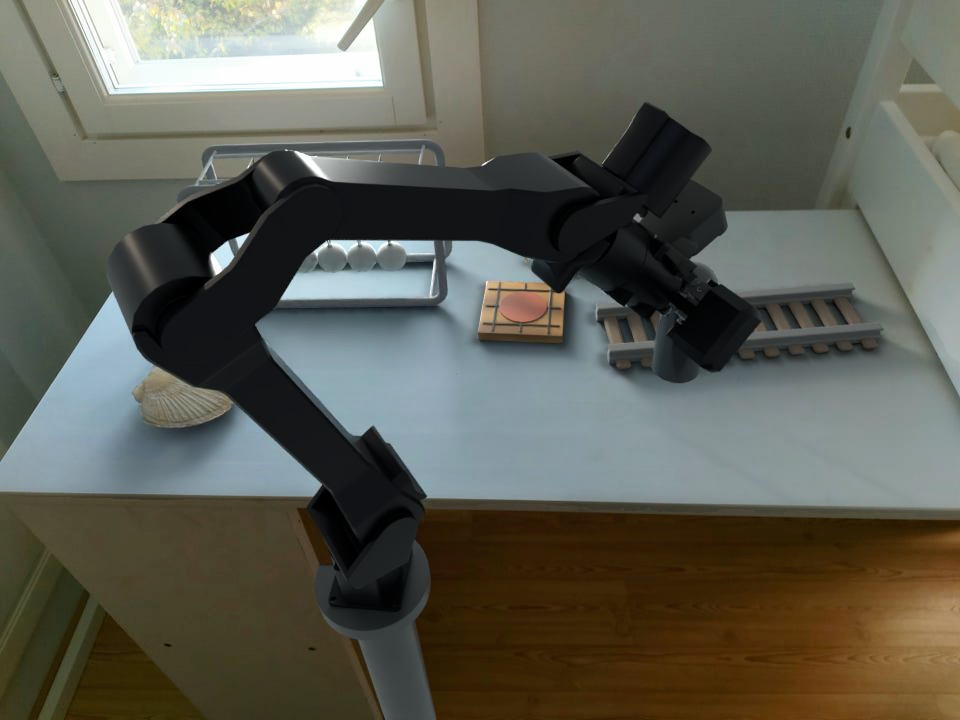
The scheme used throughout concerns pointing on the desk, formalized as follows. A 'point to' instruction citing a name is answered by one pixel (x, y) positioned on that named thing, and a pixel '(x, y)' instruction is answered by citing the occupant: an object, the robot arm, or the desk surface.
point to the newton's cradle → (334, 254)
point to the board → (521, 312)
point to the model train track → (761, 335)
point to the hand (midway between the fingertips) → (695, 311)
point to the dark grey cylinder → (665, 355)
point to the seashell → (177, 401)
